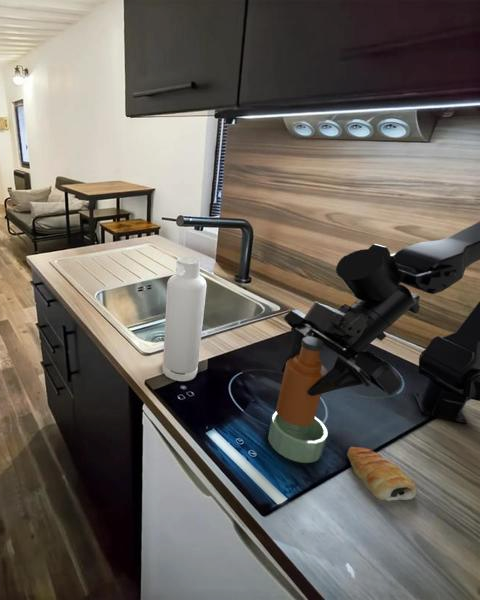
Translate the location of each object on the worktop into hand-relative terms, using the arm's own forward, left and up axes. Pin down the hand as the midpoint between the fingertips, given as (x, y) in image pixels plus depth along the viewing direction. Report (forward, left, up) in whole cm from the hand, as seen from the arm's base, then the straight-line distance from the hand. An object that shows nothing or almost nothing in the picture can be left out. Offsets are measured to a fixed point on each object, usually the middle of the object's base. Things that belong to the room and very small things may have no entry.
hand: (295, 382), depth 61 cm
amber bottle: (-1, +1, -7) cm, 7 cm away
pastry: (+2, +14, -14) cm, 19 cm away
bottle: (-14, -22, -14) cm, 29 cm away
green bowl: (0, +2, -13) cm, 14 cm away
